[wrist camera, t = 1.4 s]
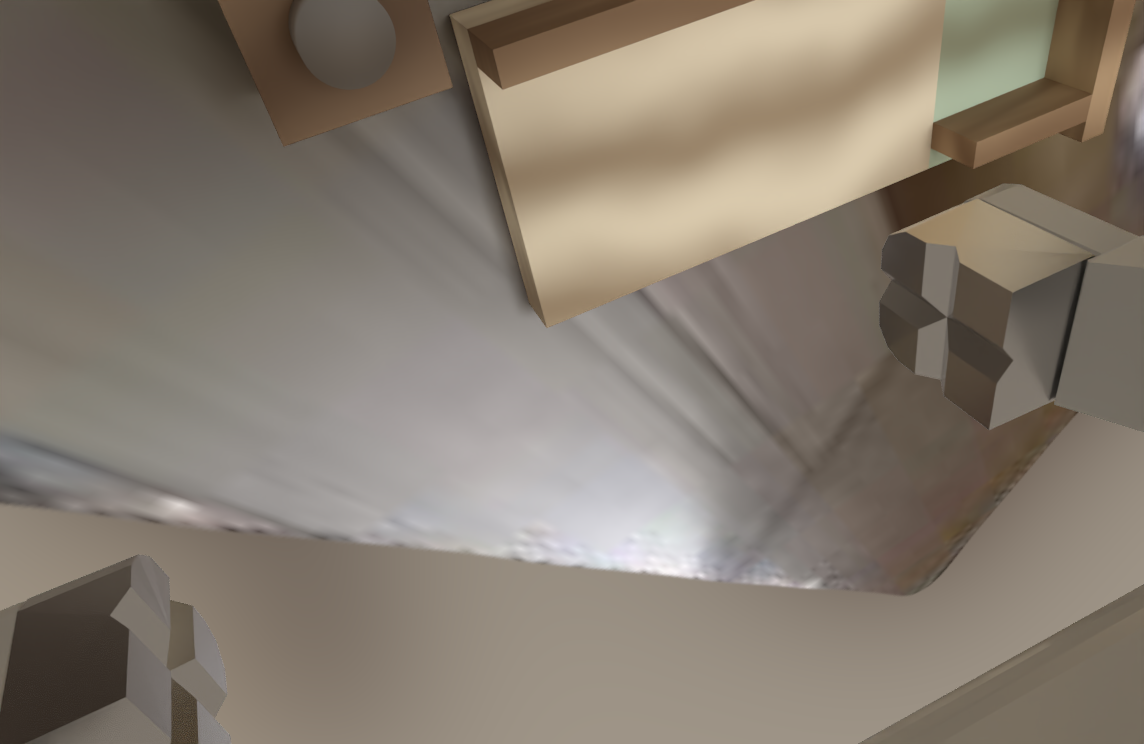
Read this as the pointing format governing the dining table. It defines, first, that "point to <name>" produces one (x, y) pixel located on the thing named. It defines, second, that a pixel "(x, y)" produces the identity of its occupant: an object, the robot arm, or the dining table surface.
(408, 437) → the dining table surface
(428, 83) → the knobbed wooden block
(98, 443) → the dining table surface
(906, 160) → the rail board
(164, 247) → the dining table surface
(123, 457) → the dining table surface
